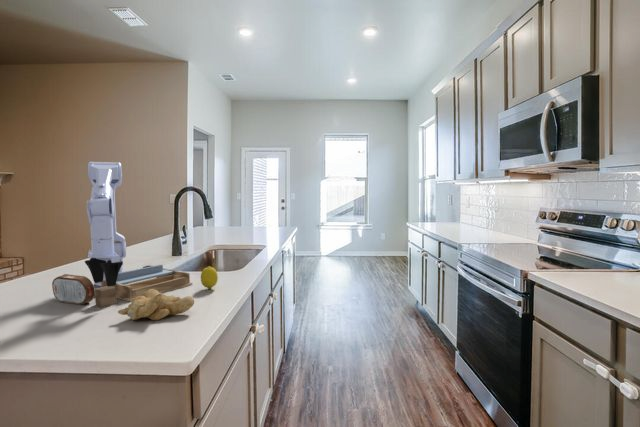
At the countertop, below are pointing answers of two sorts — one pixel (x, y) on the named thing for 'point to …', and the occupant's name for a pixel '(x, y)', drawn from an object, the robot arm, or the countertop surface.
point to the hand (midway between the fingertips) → (104, 284)
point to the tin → (73, 289)
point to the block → (105, 296)
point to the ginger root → (156, 305)
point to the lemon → (209, 277)
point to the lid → (141, 274)
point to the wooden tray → (152, 285)
